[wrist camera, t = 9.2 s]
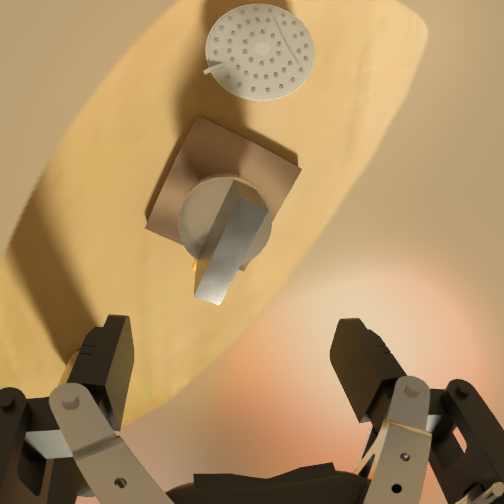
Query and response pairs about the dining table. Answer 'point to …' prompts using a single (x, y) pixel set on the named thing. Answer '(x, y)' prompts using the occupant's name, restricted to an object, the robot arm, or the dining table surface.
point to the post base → (214, 162)
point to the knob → (222, 230)
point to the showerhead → (259, 52)
